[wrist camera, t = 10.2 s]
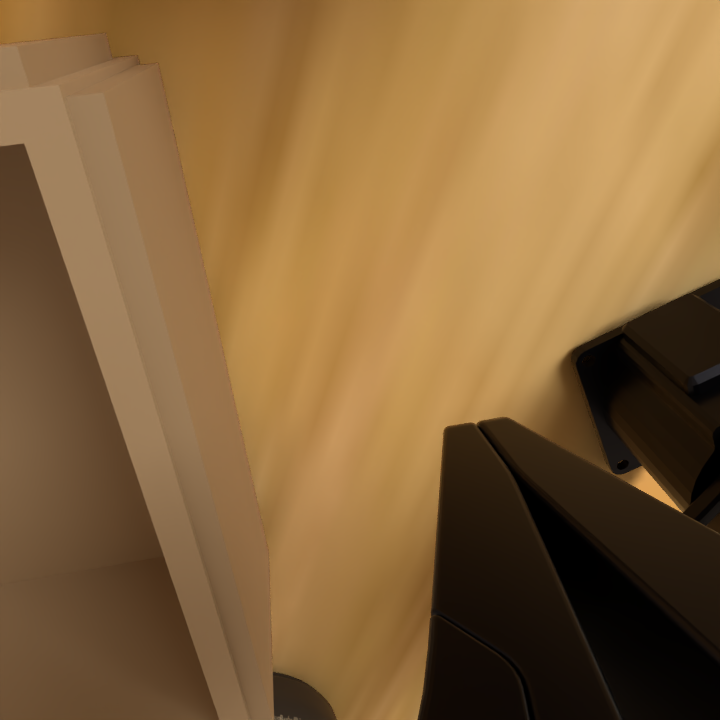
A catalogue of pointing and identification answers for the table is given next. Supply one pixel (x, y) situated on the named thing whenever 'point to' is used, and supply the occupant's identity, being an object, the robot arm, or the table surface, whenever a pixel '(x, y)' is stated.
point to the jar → (298, 700)
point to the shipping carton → (116, 415)
